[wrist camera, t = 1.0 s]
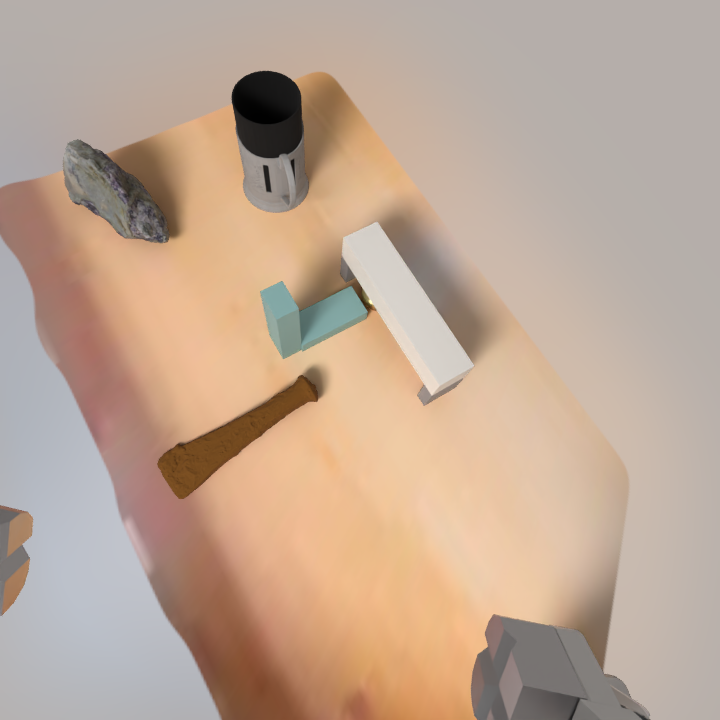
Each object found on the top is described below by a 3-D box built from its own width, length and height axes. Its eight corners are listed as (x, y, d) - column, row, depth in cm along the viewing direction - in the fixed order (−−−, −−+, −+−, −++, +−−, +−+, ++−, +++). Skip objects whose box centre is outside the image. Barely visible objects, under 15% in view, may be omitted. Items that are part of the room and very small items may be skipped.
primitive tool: (180, 501, 59) (172, 499, 55) (154, 461, 60) (145, 456, 57) (323, 401, 64) (323, 392, 60) (296, 365, 65) (295, 355, 62)
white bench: (454, 387, 65) (474, 365, 57) (423, 405, 64) (439, 385, 56) (370, 258, 70) (377, 221, 62) (340, 273, 69) (343, 237, 61)
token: (398, 302, 68) (400, 296, 67) (371, 316, 67) (372, 310, 66) (381, 277, 69) (383, 271, 68) (355, 291, 68) (356, 284, 67)
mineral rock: (176, 251, 68) (154, 203, 59) (88, 272, 66) (51, 227, 57) (154, 169, 72) (130, 112, 62) (71, 187, 70) (33, 131, 60)
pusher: (366, 318, 67) (376, 272, 56) (284, 360, 64) (277, 321, 53) (350, 292, 68) (357, 242, 57) (268, 333, 65) (259, 289, 54)
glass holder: (298, 152, 74) (294, 60, 60) (328, 238, 70) (332, 161, 56) (235, 165, 73) (216, 74, 59) (263, 254, 69) (250, 179, 55)
